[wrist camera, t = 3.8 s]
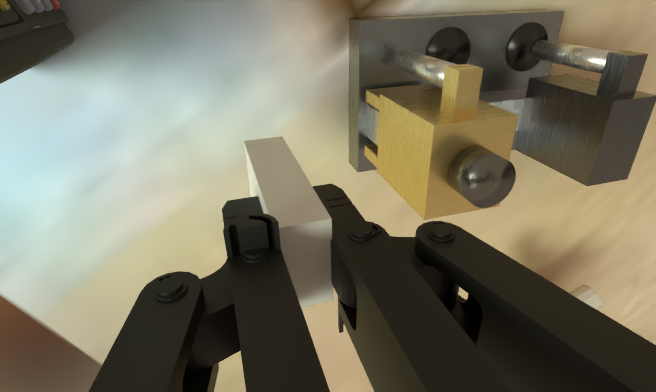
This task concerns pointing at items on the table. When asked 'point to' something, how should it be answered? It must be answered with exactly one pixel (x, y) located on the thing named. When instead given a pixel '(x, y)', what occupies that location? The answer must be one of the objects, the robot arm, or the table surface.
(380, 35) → the bolt plate
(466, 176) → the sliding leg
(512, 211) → the table surface
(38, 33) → the card reader
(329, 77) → the table surface
